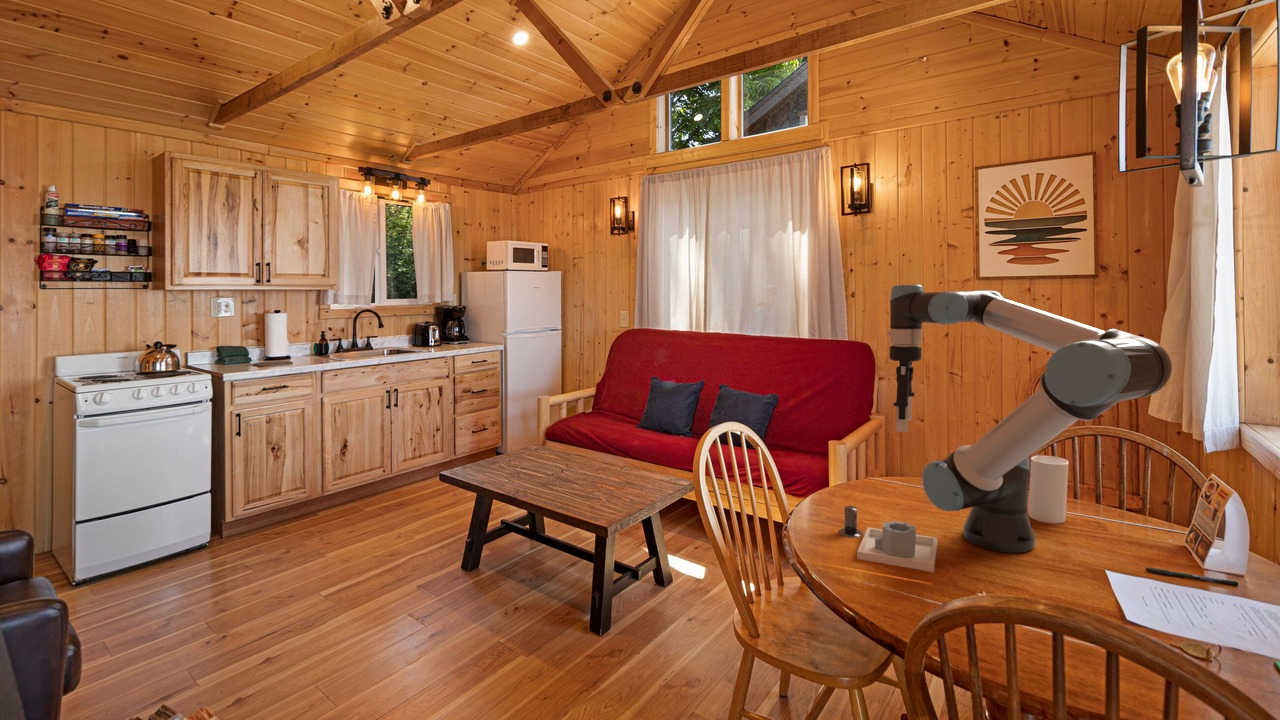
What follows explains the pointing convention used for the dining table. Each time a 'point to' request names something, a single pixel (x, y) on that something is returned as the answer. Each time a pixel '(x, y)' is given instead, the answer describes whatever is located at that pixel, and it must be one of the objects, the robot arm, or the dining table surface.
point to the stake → (850, 523)
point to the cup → (1048, 489)
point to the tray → (920, 561)
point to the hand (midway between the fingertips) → (903, 426)
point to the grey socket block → (897, 539)
